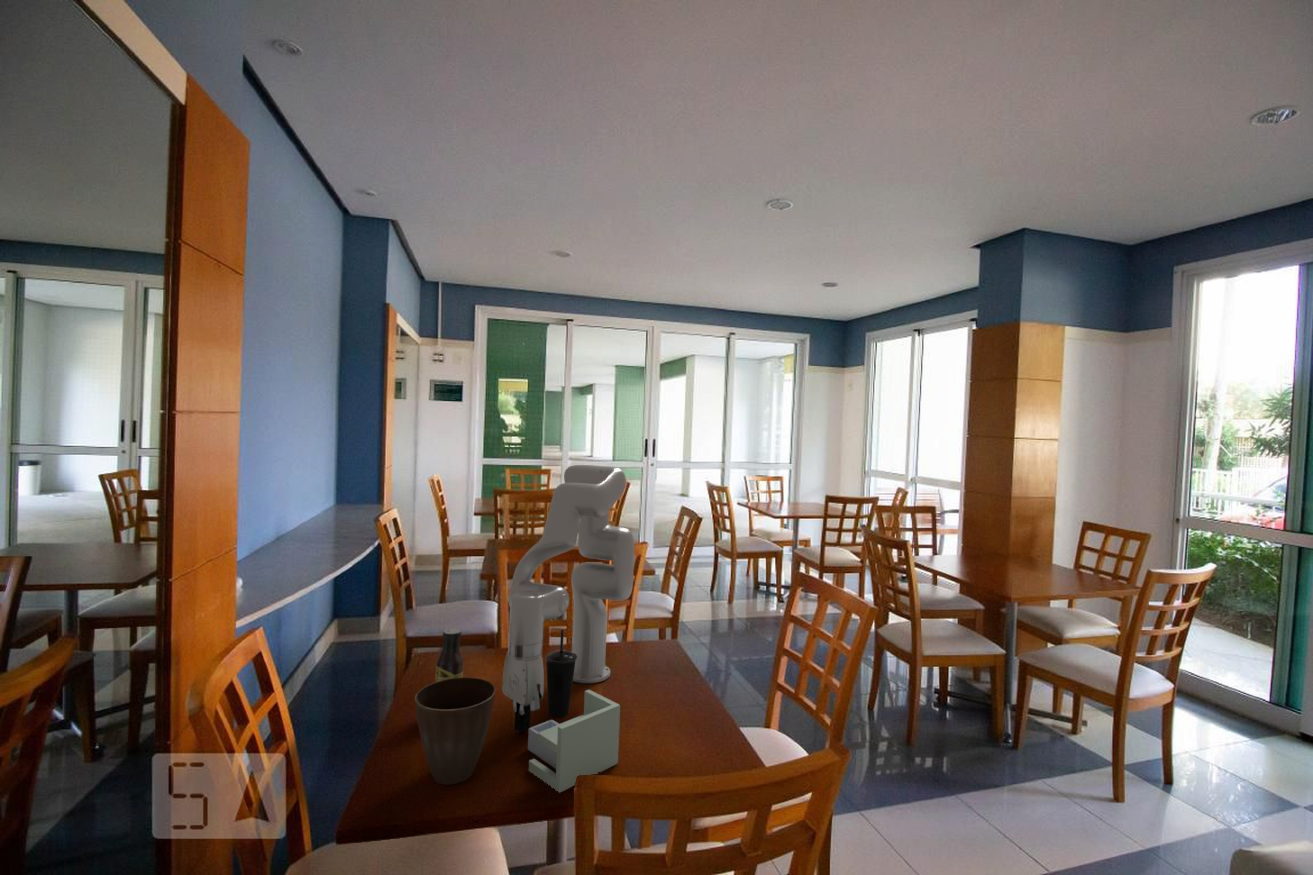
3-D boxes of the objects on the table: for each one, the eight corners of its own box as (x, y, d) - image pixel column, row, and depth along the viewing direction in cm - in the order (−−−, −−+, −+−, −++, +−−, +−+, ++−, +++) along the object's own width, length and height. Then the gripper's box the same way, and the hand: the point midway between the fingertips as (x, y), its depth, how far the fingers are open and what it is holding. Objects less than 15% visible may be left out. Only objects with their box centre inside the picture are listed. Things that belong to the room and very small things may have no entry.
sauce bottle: (428, 713, 139) (431, 629, 139) (452, 705, 143) (456, 624, 143) (441, 722, 134) (445, 636, 134) (466, 714, 139) (469, 630, 139)
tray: (591, 765, 119) (592, 743, 119) (568, 777, 115) (569, 754, 115) (550, 739, 129) (551, 719, 129) (527, 749, 124) (528, 728, 124)
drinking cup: (581, 713, 142) (584, 630, 142) (555, 723, 136) (559, 637, 136) (561, 702, 147) (565, 623, 147) (536, 711, 141) (539, 629, 142)
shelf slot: (528, 770, 116) (531, 710, 116) (586, 744, 127) (589, 689, 127) (559, 792, 109) (561, 728, 110) (617, 763, 120) (620, 704, 120)
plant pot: (411, 804, 104) (415, 714, 105) (410, 761, 118) (414, 682, 118) (497, 787, 110) (500, 703, 110) (486, 748, 124) (490, 673, 124)
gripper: (492, 642, 134) (489, 722, 134) (531, 661, 124) (527, 747, 124) (520, 635, 139) (517, 712, 139) (559, 652, 129) (556, 735, 129)
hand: (522, 728), depth 131 cm, fingers closed
